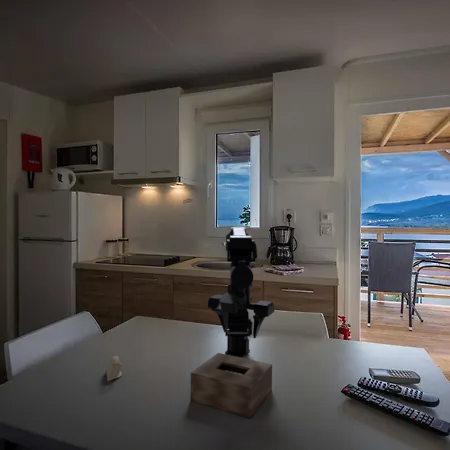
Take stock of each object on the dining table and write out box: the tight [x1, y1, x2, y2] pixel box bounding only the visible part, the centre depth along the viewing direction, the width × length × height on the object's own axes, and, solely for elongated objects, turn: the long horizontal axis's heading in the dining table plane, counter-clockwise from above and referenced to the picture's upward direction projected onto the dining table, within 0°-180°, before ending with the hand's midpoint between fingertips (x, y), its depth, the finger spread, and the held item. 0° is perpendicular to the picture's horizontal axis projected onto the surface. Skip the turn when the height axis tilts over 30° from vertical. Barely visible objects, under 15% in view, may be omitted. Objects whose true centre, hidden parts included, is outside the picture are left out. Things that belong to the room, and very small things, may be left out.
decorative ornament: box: [105, 355, 123, 382], centre depth 95 cm, size 4×8×5 cm, turn 21°
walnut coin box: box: [190, 352, 273, 419], centre depth 85 cm, size 16×14×7 cm
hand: (239, 334), depth 95 cm, fingers open, 9 cm apart
